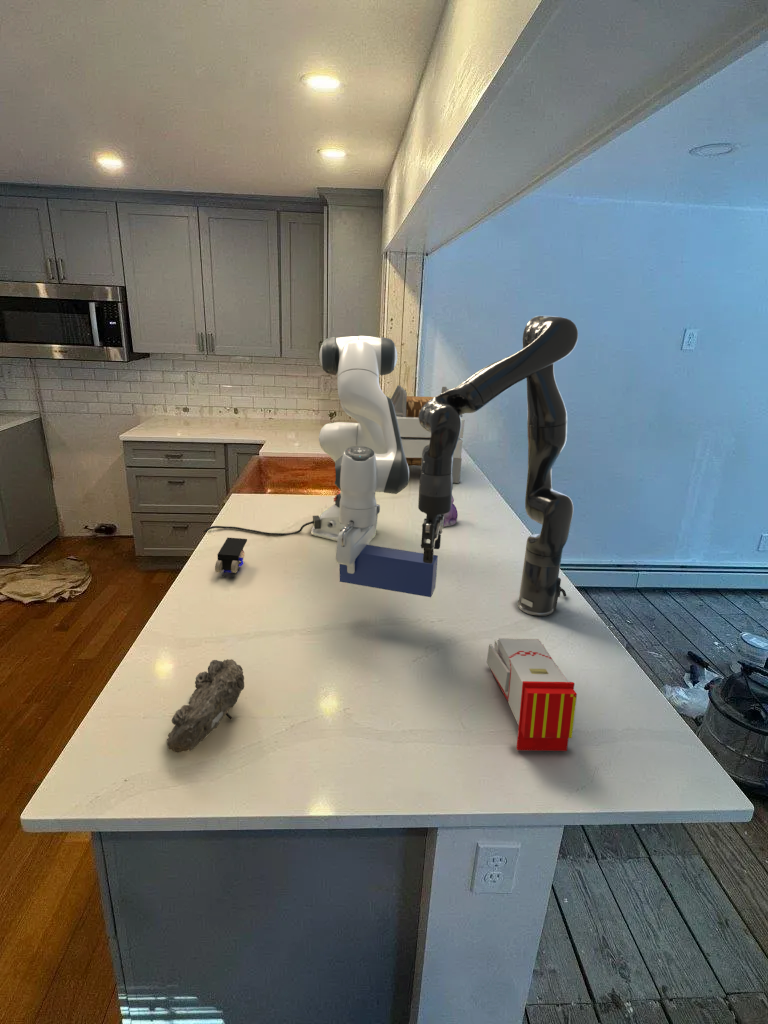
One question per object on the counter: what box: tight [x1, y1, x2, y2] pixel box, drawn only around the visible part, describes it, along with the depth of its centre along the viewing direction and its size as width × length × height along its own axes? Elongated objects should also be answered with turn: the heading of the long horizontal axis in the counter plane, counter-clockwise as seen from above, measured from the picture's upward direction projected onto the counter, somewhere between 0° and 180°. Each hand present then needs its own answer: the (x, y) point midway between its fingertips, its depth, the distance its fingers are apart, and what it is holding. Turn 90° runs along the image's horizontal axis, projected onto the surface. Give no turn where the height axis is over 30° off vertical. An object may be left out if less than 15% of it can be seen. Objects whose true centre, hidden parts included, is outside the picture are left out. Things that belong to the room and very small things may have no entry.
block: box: [339, 544, 439, 598], centre depth 139 cm, size 23×6×9 cm, turn 74°
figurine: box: [444, 495, 459, 527], centre depth 210 cm, size 9×10×15 cm
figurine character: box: [214, 537, 248, 578], centre depth 166 cm, size 7×8×15 cm
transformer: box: [390, 384, 465, 484], centre depth 268 cm, size 34×33×41 cm
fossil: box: [166, 658, 245, 754], centre depth 106 cm, size 22×10×15 cm
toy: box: [486, 637, 578, 752], centre depth 114 cm, size 12×13×30 cm
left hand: (356, 566), depth 142 cm, fingers closed on block, 5 cm apart
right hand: (431, 555), depth 135 cm, fingers open, 8 cm apart
